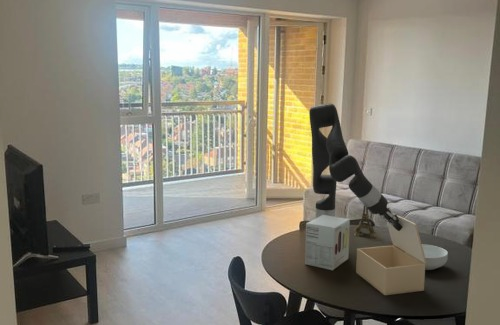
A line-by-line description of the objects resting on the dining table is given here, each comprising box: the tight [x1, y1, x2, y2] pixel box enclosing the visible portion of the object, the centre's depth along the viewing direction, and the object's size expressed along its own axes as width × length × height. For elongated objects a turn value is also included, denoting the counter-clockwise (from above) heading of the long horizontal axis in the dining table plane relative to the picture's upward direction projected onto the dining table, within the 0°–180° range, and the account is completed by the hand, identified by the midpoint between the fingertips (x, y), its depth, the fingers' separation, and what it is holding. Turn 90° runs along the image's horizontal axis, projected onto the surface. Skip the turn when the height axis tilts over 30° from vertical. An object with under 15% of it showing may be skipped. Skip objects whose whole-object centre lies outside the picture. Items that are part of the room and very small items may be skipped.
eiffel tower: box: [353, 205, 376, 238], centre depth 242 cm, size 11×11×25 cm
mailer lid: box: [385, 212, 427, 264], centre depth 182 cm, size 16×22×1 cm
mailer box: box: [355, 244, 426, 296], centre depth 183 cm, size 16×22×10 cm
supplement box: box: [304, 215, 351, 271], centre depth 203 cm, size 17×13×18 cm
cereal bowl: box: [405, 243, 449, 271], centre depth 198 cm, size 17×17×7 cm
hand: (399, 228), depth 181 cm, fingers closed
